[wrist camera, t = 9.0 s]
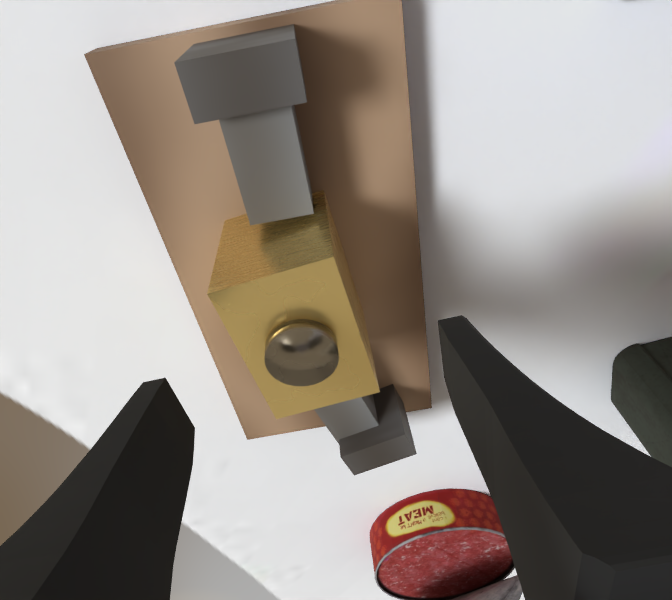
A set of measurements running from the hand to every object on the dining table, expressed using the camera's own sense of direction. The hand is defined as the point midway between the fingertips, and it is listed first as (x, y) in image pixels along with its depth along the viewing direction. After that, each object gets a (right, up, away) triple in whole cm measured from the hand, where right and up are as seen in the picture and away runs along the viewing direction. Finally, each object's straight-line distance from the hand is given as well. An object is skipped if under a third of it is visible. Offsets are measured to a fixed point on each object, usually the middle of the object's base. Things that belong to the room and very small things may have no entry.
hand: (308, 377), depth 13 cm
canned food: (+8, -14, +23) cm, 28 cm away
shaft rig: (-1, +4, +9) cm, 10 cm away
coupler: (-1, +3, +8) cm, 8 cm away
